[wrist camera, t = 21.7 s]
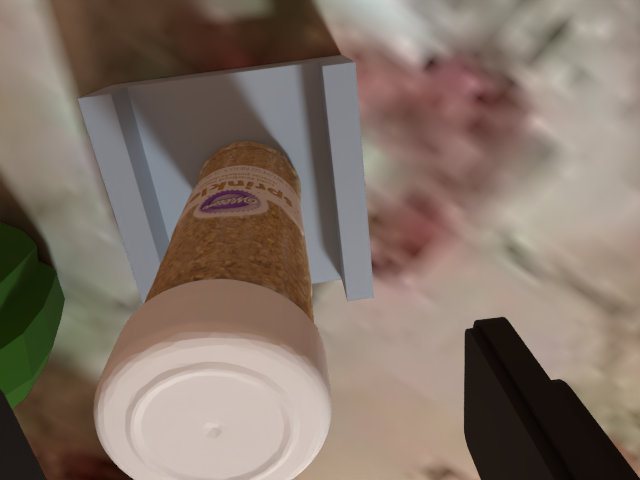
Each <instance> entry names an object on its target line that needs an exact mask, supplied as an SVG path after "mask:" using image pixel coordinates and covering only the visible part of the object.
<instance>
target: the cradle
mask: <svg viewBox="0 0 640 480" xmlns="http://www.w3.org/2000/svg"><path fill="white" fill-rule="evenodd" d="M77 100H78V103H79V106H80V109H81V112H82V115H83V118H84V121H85V125H86V128H87V131H88V134H89V137H90V140H91V143H92V146H93V149H94V153H95V156H96V159H97V162H98V165H99V168H100V171H101V174H102V178H103V181H104V184H105V187H106V190H107V193H108V196H109V199H110V203H111V206H112V209H113V212H114V215H115V218H116V221H117V224H118V228H119V231H120V234H121V237H122V240H123V243H124V246H125V249H126V252H127V256H128V259H129V262H130V265H131V268H132V271H133V274H134V277H135V281H136V284H137V287H138V290H139V293H140V296H141V299H142V302H143V304H144V302H145V300H146V297H147V294H148V293H149V291H150V289H151V286H152V285H153V282H154V279H155V277H156V275H157V272H158V270H159V266H160V264H161V262H162V261H163V257H164V255H165V253H166V251H167V248H168V246H169V244H170V240H171V236H172V233H173V231H174V228H175V226H176V224H177V222H178V220H179V218H180V216H181V213H182V211H183V209H184V207H185V205H186V203H187V201H188V198H189V196H190V194H191V193H192V191H193V189H194V188H195V187H196V184H197V178H198V175H199V173H200V170H201V168H202V166H203V164H204V163H205V161H206V160H207V159H208V158H209V157H210V156H211V155H212V154H214V153H215V152H216V151H217V150H219V149H220V148H222V147H224V146H227V145H230V144H232V143H234V142H243V141H249V142H257V143H259V144H265V145H267V146H270V147H272V148H274V149H276V150H278V151H279V152H280V153H282V154H283V155H284V156H285V157H286V158H287V159H288V160H289V161H290V163H291V164H292V165H293V166H294V168H295V170H296V172H297V174H298V176H299V179H300V183H301V202H300V205H301V212H302V220H303V226H304V232H305V240H306V246H307V254H308V260H309V268H310V276H311V283H312V284H313V283H320V282H327V281H334V280H341V279H342V281H343V285H344V289H345V293H346V297H347V301H353V300H360V299H367V298H374V291H373V279H372V266H371V254H370V241H369V229H368V216H367V204H366V191H365V179H364V166H363V154H362V141H361V128H360V116H359V103H358V91H357V78H356V66H355V62H354V61H352V60H350V59H349V58H347V57H345V56H343V55H336V56H328V57H321V58H313V59H305V60H298V61H290V62H282V63H274V64H267V65H259V66H251V67H244V68H236V69H228V70H221V71H213V72H205V73H198V74H190V75H182V76H175V77H167V78H159V79H152V80H144V81H136V82H129V83H121V84H113V85H110V86H107V87H105V88H102V89H100V90H97V91H95V92H92V93H90V94H87V95H85V96H82V97H80V98H77Z"/></svg>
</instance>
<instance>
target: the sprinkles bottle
mask: <svg viewBox="0 0 640 480" xmlns="http://www.w3.org/2000/svg"><path fill="white" fill-rule="evenodd" d="M300 202H301V183H300V179H299V176H298V174H297V172H296V170H295V168H294V166H293V165H292V164H291V163H290V161H289V160H288V159H287V158H286V157H285V156H284V155H283V154H282V153H280V152H279V151H278V150H276V149H274V148H272V147H270V146H267V145H265V144H259V143H257V142H249V141H243V142H234V143H232V144H230V145H227V146H224V147H222V148H220V149H219V150H217V151H216V152H215V153H214V154H212V155H211V156H210V157H209V158H208V159H207V160H206V161H205V163H204V164H203V166H202V168H201V170H200V173H199V175H198V178H197V184H196V187H195V188H194V189H193V191H192V193H191V194H190V196H189V198H188V201H187V203H186V205H185V207H184V209H183V211H182V213H181V216H180V218H179V220H178V222H177V224H176V226H175V228H174V231H173V233H172V236H171V240H170V244H169V246H168V248H167V251H166V253H165V255H164V257H163V261H162V262H161V264H160V266H159V270H158V272H157V275H156V277H155V279H154V282H153V285H152V286H151V289H150V291H149V293H148V294H147V297H146V300H145V302H144V304H143V305H142V306H141V307H140V308H139V309H137V310H136V312H135V313H134V314H133V315H132V316H131V317H130V319H129V320H128V321H127V323H126V325H125V326H124V328H123V330H122V331H121V333H120V336H119V338H118V340H117V342H116V344H115V346H114V349H113V351H112V353H111V355H110V357H109V359H108V361H107V363H106V366H105V368H104V370H103V373H102V375H101V377H100V380H99V382H98V385H97V389H96V392H95V397H94V408H93V416H94V423H95V428H96V432H97V435H98V438H99V440H100V442H101V445H102V446H103V448H104V450H105V452H106V453H107V454H108V455H109V457H110V458H111V459H112V460H113V462H114V463H115V464H116V465H117V466H118V467H119V468H120V469H121V470H122V471H124V472H125V473H126V474H127V475H128V476H130V477H131V478H133V479H134V480H291V479H293V478H294V477H295V476H297V475H298V474H299V473H300V472H302V471H303V470H304V469H305V468H306V467H307V466H308V465H309V464H310V463H311V462H312V460H313V459H314V458H315V456H316V455H317V454H318V452H319V451H320V449H321V447H322V446H323V443H324V441H325V439H326V436H327V433H328V430H329V426H330V421H331V394H330V383H329V374H328V366H327V358H326V352H325V348H324V344H323V341H322V338H321V336H320V334H319V332H318V329H317V327H316V326H315V324H314V316H313V305H312V283H311V276H310V268H309V260H308V254H307V246H306V240H305V232H304V226H303V220H302V212H301V205H300Z"/></svg>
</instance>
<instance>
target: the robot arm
mask: <svg viewBox="0 0 640 480" xmlns="http://www.w3.org/2000/svg"><path fill="white" fill-rule="evenodd" d="M464 433H465V439H466V443H467V446H468V449H469V452H470V454H471V456H472V459H473V461H474V464H475V466H476V469H477V471H478V474H479V476H480V478H481V480H640V478H639V477H638V475H637V474H636V473H635V471H634V470H633V469H632V468H631V466H630V465H629V464H628V462H627V461H626V460H625V458H624V457H623V456H622V454H621V453H620V452H619V450H618V449H617V448H616V447H615V445H614V444H613V443H612V441H611V440H610V439H609V437H608V436H607V435H606V433H605V432H604V431H603V429H602V428H601V427H600V426H599V424H598V423H597V422H596V420H595V419H594V418H593V416H592V415H591V414H590V412H589V411H588V410H587V408H586V407H585V406H584V405H583V403H582V402H581V401H580V399H579V398H578V397H577V395H576V394H575V393H574V391H573V390H572V389H571V388H570V386H569V385H568V384H567V383H566V382H565V381H562V380H560V379H557V380H551V379H550V378H549V377H548V375H547V374H546V372H545V371H544V370H543V368H542V367H541V365H540V364H539V363H538V361H537V360H536V359H535V357H534V356H533V354H532V353H531V352H530V350H529V349H528V347H527V346H526V345H525V343H524V342H523V341H522V339H521V338H520V336H519V335H518V334H517V332H516V331H515V329H514V328H513V327H512V325H511V324H510V323H509V321H508V320H507V319H506V318H505V317H498V318H490V319H482V320H476V321H475V322H474V325H473V328H470V329H466V331H465V374H464ZM0 480H47V479H46V477H45V475H44V473H43V471H42V469H41V467H40V465H39V463H38V461H37V459H36V457H35V455H34V453H33V451H32V449H31V447H30V445H29V443H28V441H27V439H26V437H25V435H24V433H23V431H22V429H21V427H20V425H19V423H18V421H17V419H16V417H15V415H14V413H13V411H12V409H11V407H10V405H9V403H8V401H7V399H6V396H5V394H4V393H3V391H2V390H1V389H0Z"/></svg>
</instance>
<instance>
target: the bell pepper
mask: <svg viewBox="0 0 640 480" xmlns="http://www.w3.org/2000/svg"><path fill="white" fill-rule="evenodd" d="M64 300H65V298H64V295H63V292H62V289H61V286H60V283H59V280H58V277H57V274H56V272H55V270H54V269H53V267H51V266H49V265H46V264H44V263H42V262H40V261H38V256H37V246H36V244H35V243H34V242H33V241H32V240H31V238H30V237H29V236H28V235H27V234H26V233H25V232H24V231H23V230H20V229H17V228H15V227H12V226H9V225H6V224H4V223H1V222H0V389H1V390H2V391H3V393H4V394H5V396H6V399H7V401H8V403H9V405H10V407H11V409H12V408H14V407H15V406H16V405H17V404H18V403H20V402H21V401H22V400H23V399H24V398H26V396H27V395H28V393H29V392H30V390H31V388H32V387H33V385H34V384H35V382H36V380H37V379H38V377H39V375H40V374H41V372H42V371H43V369H44V367H45V365H46V362H47V360H48V357H49V355H50V352H51V349H52V347H53V343H54V340H55V337H56V334H57V330H58V327H59V324H60V320H61V316H62V311H63V306H64Z"/></svg>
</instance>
